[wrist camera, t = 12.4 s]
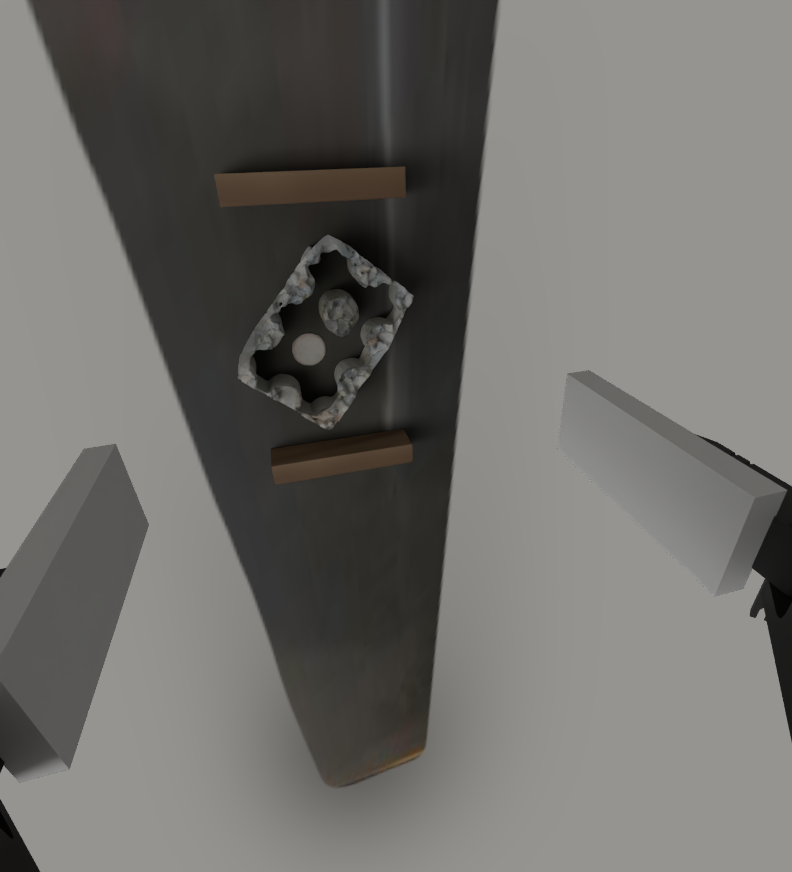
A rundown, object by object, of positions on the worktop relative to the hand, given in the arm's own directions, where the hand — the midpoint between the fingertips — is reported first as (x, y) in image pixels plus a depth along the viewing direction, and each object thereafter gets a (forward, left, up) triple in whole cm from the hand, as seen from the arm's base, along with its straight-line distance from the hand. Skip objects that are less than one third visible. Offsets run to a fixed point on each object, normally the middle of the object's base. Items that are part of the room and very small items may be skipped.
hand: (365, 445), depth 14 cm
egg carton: (0, +2, -20) cm, 20 cm away
